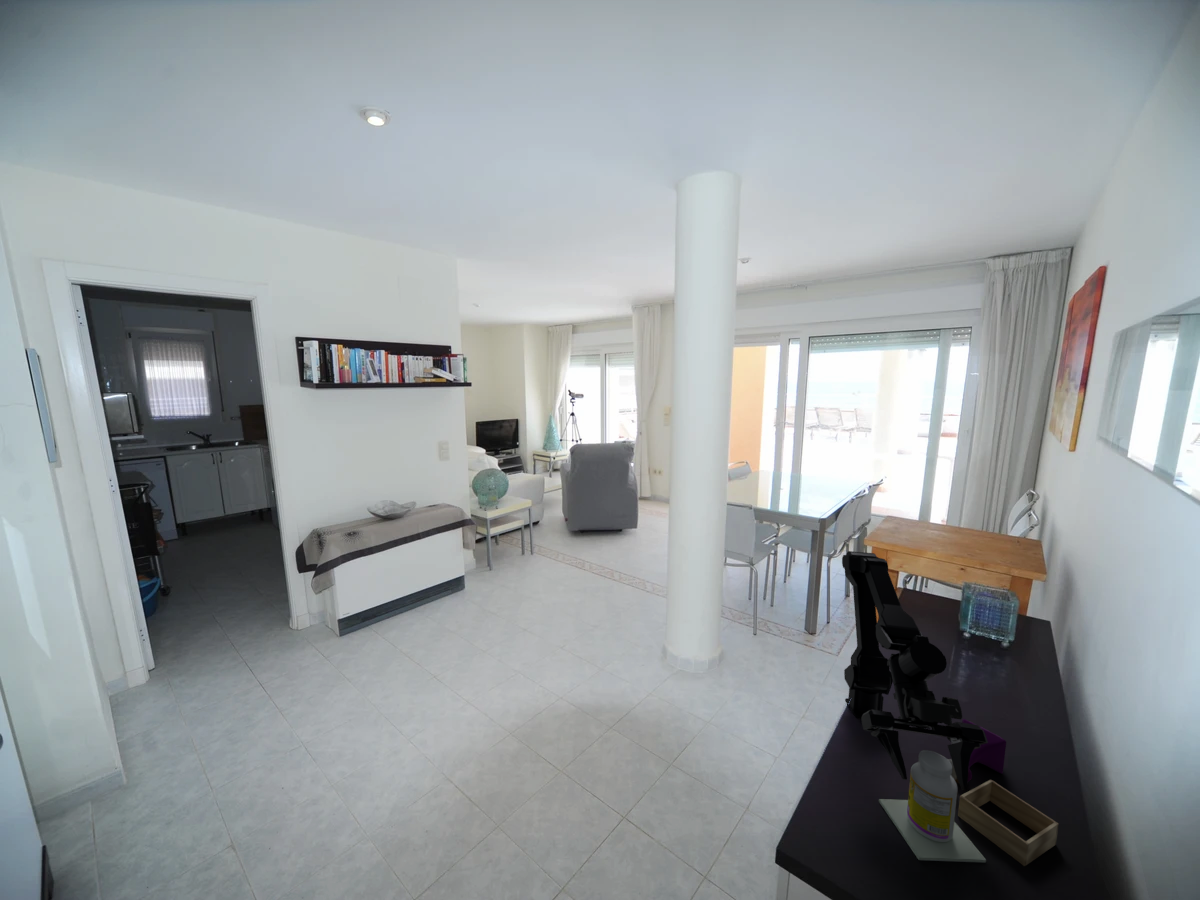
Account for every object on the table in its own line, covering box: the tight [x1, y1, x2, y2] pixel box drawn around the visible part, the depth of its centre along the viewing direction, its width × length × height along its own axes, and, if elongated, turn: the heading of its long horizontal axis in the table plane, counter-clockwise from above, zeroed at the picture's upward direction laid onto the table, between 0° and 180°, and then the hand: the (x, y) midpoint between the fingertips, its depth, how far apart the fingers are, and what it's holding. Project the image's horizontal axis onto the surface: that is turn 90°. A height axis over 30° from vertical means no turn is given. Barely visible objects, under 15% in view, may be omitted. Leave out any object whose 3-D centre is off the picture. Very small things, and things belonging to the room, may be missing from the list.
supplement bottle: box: [907, 749, 958, 842], centre depth 79 cm, size 7×7×13 cm
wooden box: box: [957, 779, 1059, 867], centre depth 80 cm, size 10×10×4 cm
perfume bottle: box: [947, 718, 1007, 784], centre depth 92 cm, size 8×8×18 cm
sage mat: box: [878, 798, 987, 863], centre depth 80 cm, size 11×11×1 cm
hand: (934, 784), depth 78 cm, fingers open, 9 cm apart
